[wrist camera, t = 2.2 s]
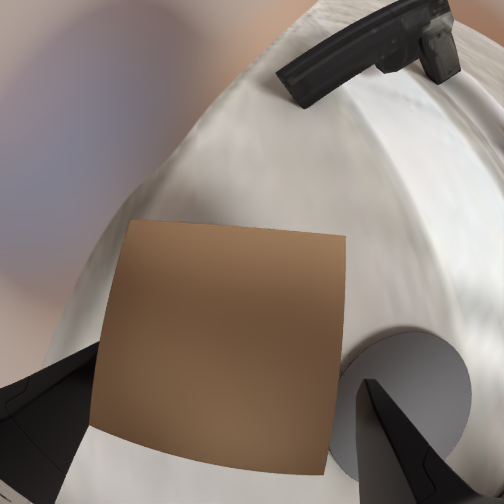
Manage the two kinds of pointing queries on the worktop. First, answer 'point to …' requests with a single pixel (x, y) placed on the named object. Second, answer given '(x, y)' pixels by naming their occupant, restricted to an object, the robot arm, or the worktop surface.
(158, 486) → the worktop surface
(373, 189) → the worktop surface
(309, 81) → the handgun
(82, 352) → the robot arm
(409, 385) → the mat
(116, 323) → the stool
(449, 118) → the worktop surface
